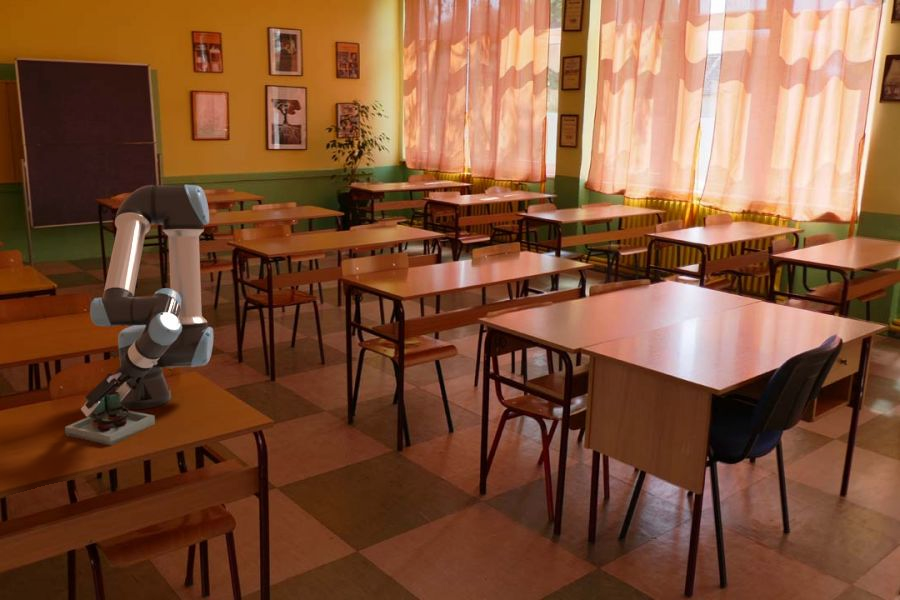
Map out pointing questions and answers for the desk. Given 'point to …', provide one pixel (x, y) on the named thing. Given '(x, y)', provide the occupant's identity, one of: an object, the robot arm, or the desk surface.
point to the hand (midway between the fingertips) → (100, 405)
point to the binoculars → (109, 412)
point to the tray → (115, 434)
